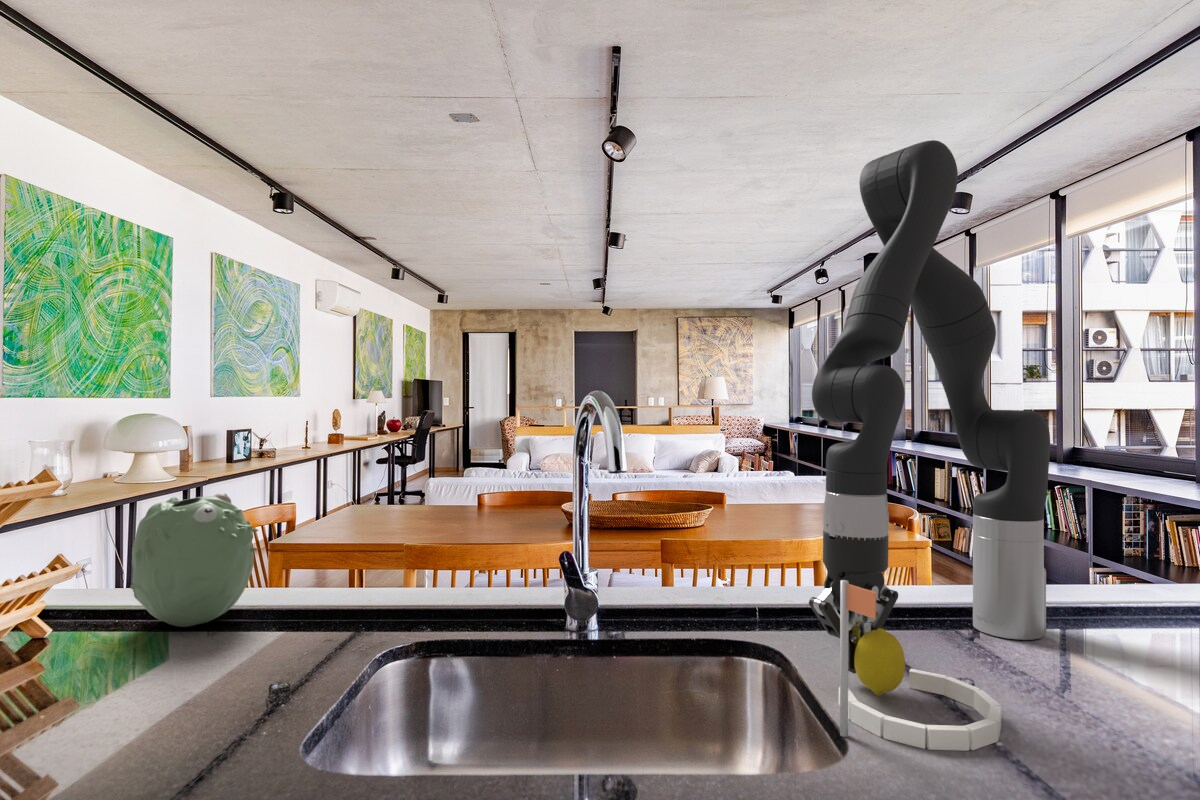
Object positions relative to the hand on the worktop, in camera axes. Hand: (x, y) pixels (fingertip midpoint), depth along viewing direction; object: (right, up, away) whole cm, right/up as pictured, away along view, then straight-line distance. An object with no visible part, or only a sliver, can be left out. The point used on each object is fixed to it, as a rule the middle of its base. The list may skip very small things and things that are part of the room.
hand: (853, 670), depth 85 cm
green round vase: (-94, -2, +22) cm, 96 cm away
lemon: (+2, -2, -3) cm, 4 cm away
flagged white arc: (+3, -2, -10) cm, 10 cm away
